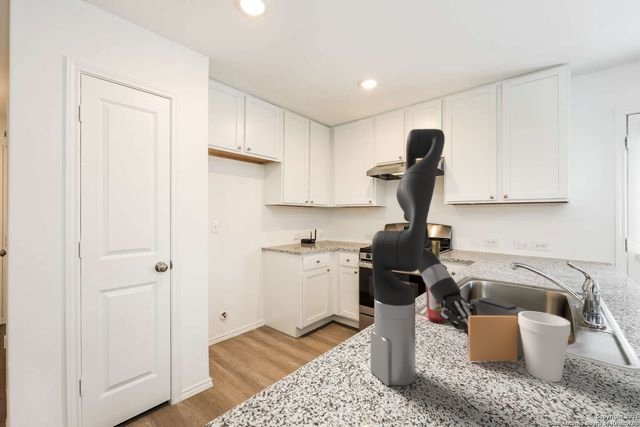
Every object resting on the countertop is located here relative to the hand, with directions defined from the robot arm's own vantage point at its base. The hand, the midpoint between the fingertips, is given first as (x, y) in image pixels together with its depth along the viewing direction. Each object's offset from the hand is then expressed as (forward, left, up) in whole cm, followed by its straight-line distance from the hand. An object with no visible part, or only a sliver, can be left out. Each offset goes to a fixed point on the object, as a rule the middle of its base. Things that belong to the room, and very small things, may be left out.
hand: (478, 342), depth 70 cm
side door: (+2, -2, -4) cm, 5 cm away
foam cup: (+8, -11, -5) cm, 14 cm away
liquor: (+12, +24, -5) cm, 27 cm away
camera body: (+11, +2, -4) cm, 12 cm away
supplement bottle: (+13, +15, -5) cm, 20 cm away
